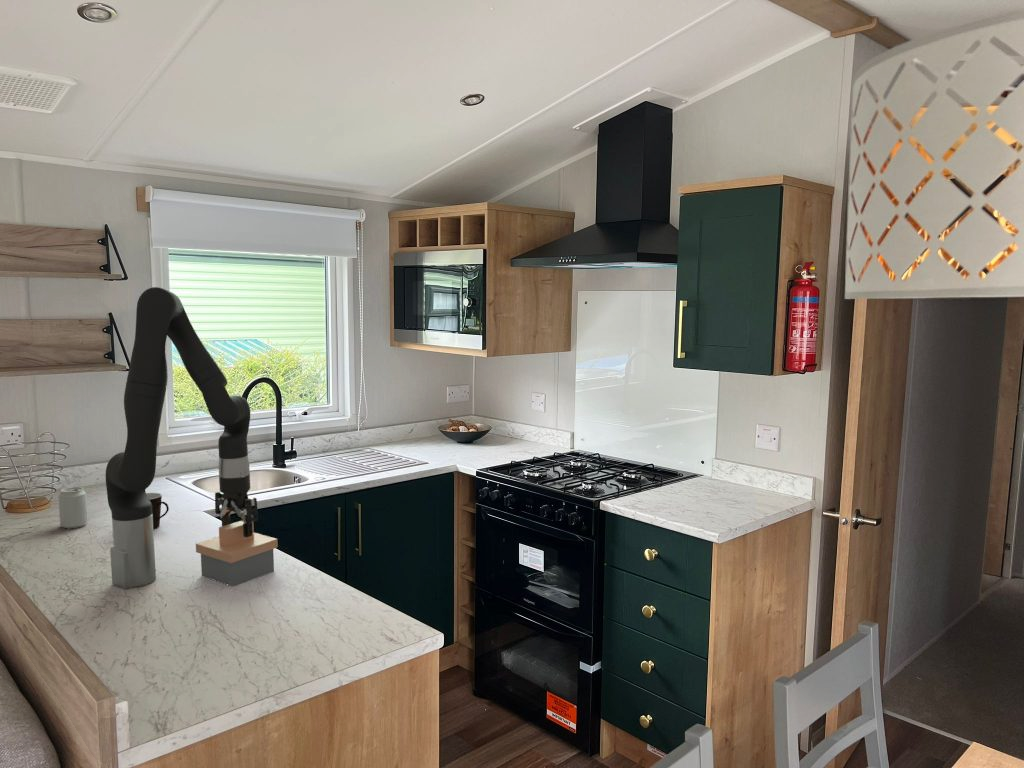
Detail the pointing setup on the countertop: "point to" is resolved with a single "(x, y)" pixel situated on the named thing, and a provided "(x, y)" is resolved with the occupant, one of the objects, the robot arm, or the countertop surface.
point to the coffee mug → (156, 508)
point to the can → (72, 507)
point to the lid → (235, 544)
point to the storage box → (237, 568)
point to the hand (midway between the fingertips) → (237, 533)
